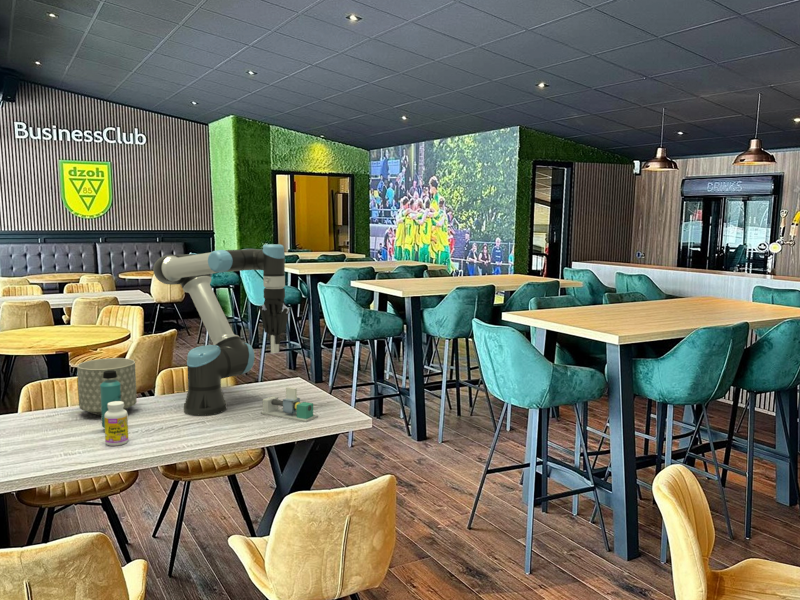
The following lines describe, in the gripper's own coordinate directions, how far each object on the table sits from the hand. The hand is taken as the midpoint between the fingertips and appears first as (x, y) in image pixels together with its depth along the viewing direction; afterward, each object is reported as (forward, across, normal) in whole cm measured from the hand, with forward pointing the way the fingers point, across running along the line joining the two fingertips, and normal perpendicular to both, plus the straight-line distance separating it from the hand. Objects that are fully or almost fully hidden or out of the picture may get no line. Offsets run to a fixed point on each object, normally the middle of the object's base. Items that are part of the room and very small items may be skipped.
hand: (274, 352), depth 235 cm
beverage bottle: (+23, -35, -42) cm, 59 cm away
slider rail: (+22, +6, 0) cm, 23 cm away
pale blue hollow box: (+21, +7, 0) cm, 22 cm away
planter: (+23, -53, -30) cm, 65 cm away
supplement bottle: (+23, -22, -50) cm, 59 cm away
